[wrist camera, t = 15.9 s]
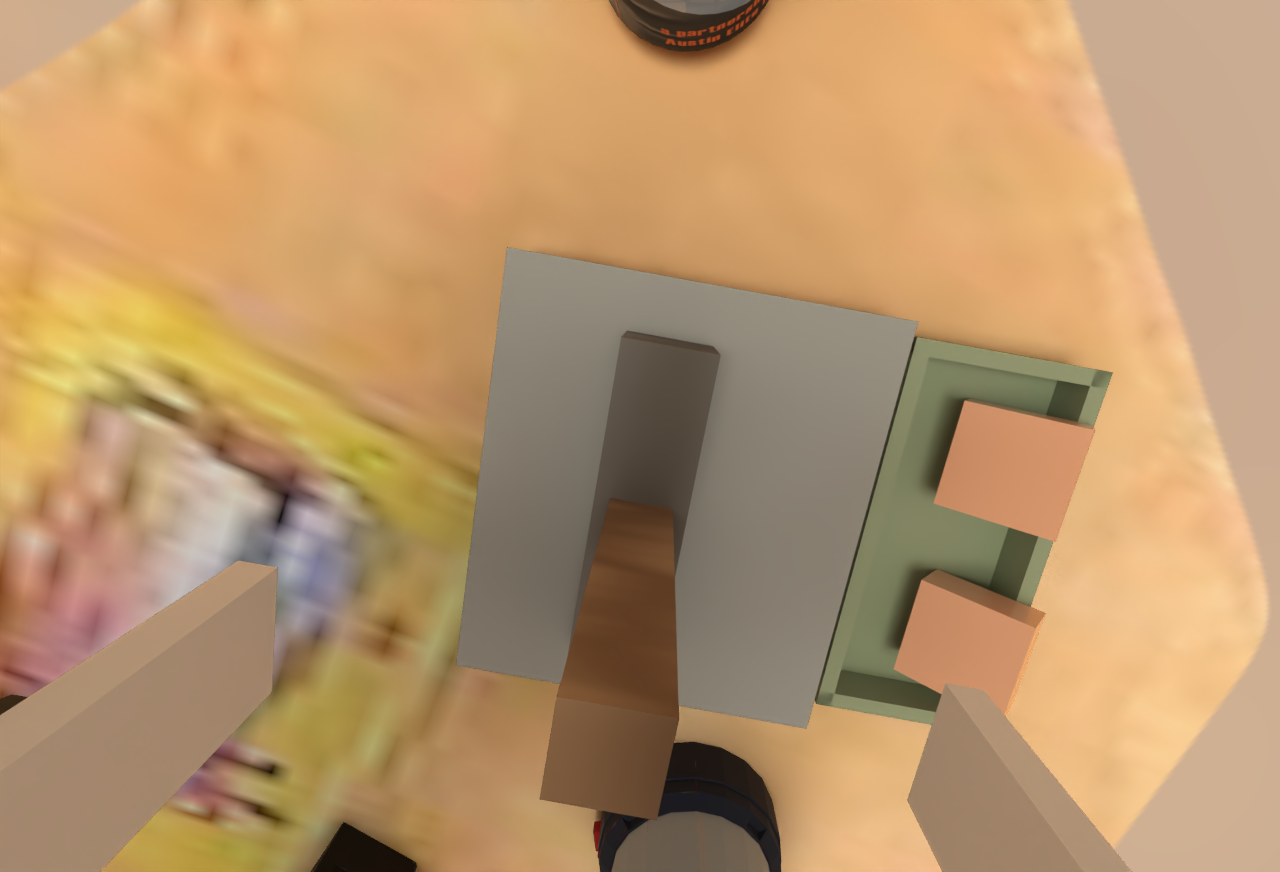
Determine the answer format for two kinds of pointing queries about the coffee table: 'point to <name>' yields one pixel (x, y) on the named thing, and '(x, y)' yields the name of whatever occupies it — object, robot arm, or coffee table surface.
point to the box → (937, 517)
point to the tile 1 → (968, 638)
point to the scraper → (632, 585)
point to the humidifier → (697, 820)
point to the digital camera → (360, 854)
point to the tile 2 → (1013, 467)
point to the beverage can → (687, 21)
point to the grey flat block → (724, 485)
